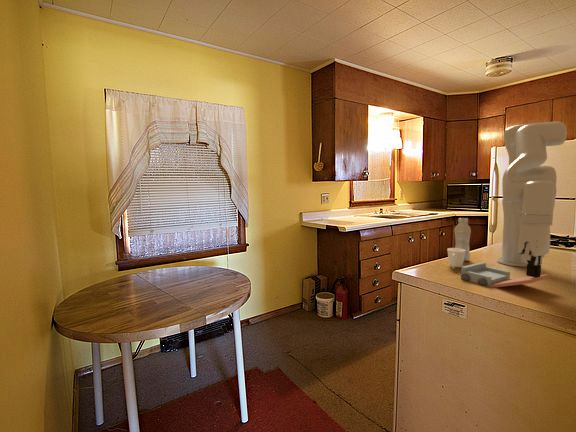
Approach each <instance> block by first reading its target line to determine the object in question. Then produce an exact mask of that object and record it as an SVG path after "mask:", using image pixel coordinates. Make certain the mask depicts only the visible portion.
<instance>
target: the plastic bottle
mask: <svg viewBox="0 0 576 432" xmlns="http://www.w3.org/2000/svg"><path fill="white" fill-rule="evenodd" d="M457 222H458V224H457V225H455V227H454V236H455V237H454V238H455V239H454V240H455V246H454V248H460V249H464V250H465V251H466V252H465V257H464V262H463V263H465V262H469V261H470V260H471V252H470V238H471V233H472V230H471V226H470V225H469V224H468V223H469V218H468V217H459V218H458V219H457Z"/></svg>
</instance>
